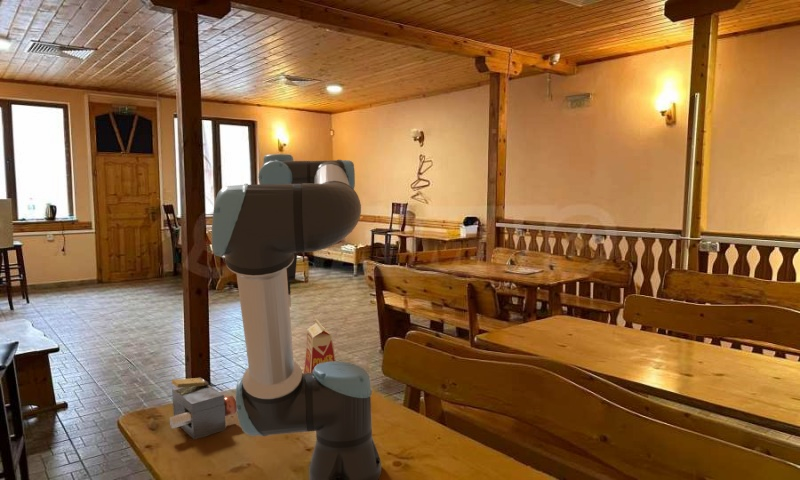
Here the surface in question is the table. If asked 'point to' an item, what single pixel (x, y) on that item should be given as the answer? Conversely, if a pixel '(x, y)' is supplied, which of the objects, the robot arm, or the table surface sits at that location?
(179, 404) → the block
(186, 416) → the pin
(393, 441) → the table surface
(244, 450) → the table surface
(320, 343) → the milk carton
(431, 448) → the table surface
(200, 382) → the tan rectangular plate
